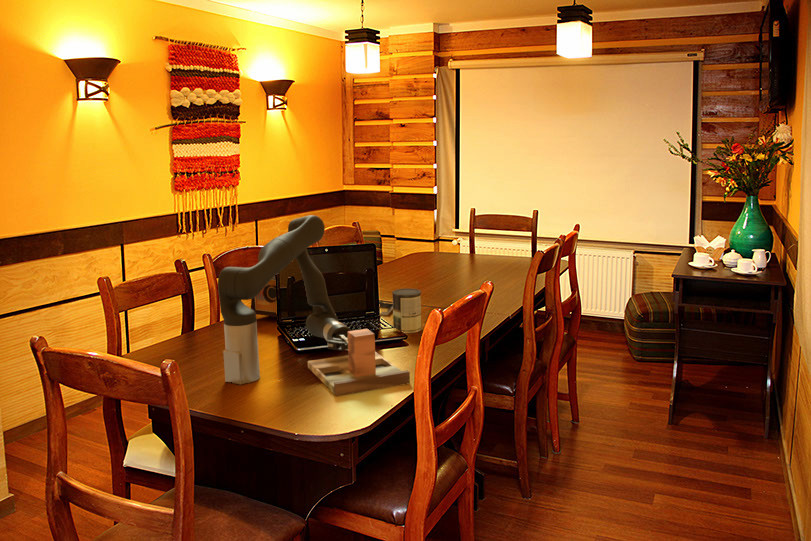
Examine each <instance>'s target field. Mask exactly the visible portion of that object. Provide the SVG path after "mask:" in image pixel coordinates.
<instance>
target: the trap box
mask: <svg viewBox="0 0 811 541" xmlns="http://www.w3.org/2000/svg"><path fill="white" fill-rule="evenodd" d="M375 367H376V374H373V375H367V376H361V377H355V376H354V375H353V374H352V373H351V372H349V360H348V354H345V355H337V356H333V357H325V358H319V359H313V360H308V361H307V368H308V369H309V371H311V372H312V373H313V374H314V375H315V377H317V379H319V380H320V381H321V383H323V384H324V385H325V387H327V388H328V390H329V391H331V393H332V394H333V395H334V396H335V397H339V396H340V397H341V396H345V395H352V394H357V393H358V394H359V393H363V392H370V391H374V390H375V391H376V390H380V389H381V390H382V389H387V388H392V387H391V386H393V387H397V385H398V386H403V384H404V385H408V384H407V383H410V384H411V375H410V373H411V372H410V371H409V370H408V369H407V370H401V369H400V368H398V367H397V366H396V365H395V364H393V363H391V361H389V360H388V359H386V358H385V357H383V356H382V355H381V354H380V353H378V352H377V351H375Z"/></svg>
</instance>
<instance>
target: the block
mask: <svg viewBox="0 0 811 541" xmlns="http://www.w3.org/2000/svg"><path fill="white" fill-rule="evenodd" d="M375 341H376V338H375V333H374V332H373V331H371V330H369V329H368V328H363V329H355V330H352V331H348V350H347V352H348V353H347V355H348V360H349V372H351V373H352V374H353V375H354V376H355V377H361V376H367V375H373V374H376V367H375V352H376V342H375Z"/></svg>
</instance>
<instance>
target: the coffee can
mask: <svg viewBox="0 0 811 541" xmlns="http://www.w3.org/2000/svg"><path fill="white" fill-rule="evenodd" d="M421 295H422V290H420V289H416V288H399V289H395V290H393V291H392V303H393V309H392V316H393V317H392V320H393V321H392V322H393V323H392V325H393V327H394V328H396V329H398V330H400V331H403V332H405V333H404V334H414V333H418V332H420V331H422V306H421V305H422V304H421V303H422V302H421V300H422V299H421Z"/></svg>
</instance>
